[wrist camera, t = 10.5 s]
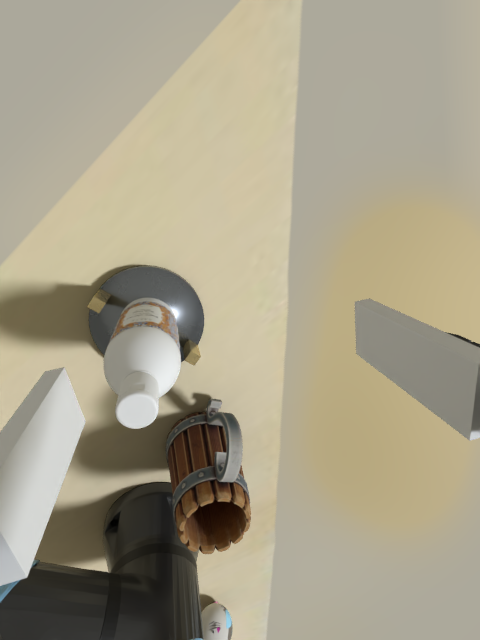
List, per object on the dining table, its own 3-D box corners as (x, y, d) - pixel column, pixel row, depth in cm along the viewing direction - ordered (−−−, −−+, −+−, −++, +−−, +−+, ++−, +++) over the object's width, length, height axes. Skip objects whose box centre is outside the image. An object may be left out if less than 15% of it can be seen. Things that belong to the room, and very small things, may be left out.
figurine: (230, 612, 63) (238, 655, 57) (200, 622, 62) (204, 668, 56) (225, 584, 61) (232, 627, 55) (193, 595, 60) (196, 639, 54)
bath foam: (175, 295, 41) (185, 362, 23) (177, 346, 43) (188, 446, 25) (117, 297, 40) (76, 371, 21) (122, 350, 42) (89, 459, 23)
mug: (225, 470, 53) (247, 562, 39) (158, 465, 50) (157, 563, 36) (252, 384, 49) (287, 452, 35) (182, 373, 46) (190, 443, 32)
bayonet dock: (211, 355, 46) (217, 372, 41) (109, 379, 44) (102, 400, 39) (191, 256, 41) (195, 261, 36) (75, 277, 39) (63, 286, 34)
